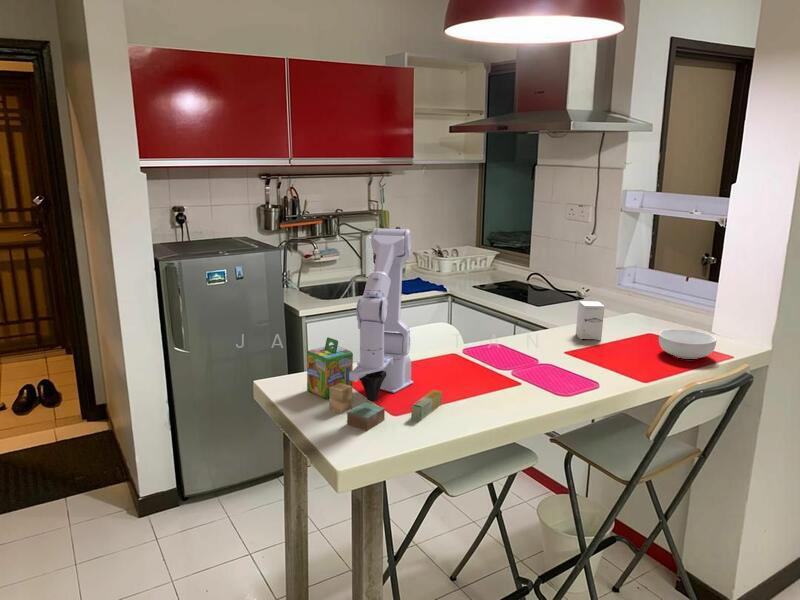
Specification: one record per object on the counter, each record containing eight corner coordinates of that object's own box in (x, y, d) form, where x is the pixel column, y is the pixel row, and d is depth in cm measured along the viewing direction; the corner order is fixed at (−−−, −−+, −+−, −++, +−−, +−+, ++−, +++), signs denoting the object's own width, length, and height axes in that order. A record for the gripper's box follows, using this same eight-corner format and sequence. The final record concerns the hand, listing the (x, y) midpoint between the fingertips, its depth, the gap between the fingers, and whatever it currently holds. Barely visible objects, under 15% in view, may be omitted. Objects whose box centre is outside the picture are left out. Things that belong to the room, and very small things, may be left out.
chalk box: (306, 391, 164) (304, 339, 160) (333, 382, 170) (332, 332, 167) (327, 400, 158) (326, 347, 154) (354, 391, 164) (353, 339, 160)
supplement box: (580, 340, 211) (583, 305, 208) (575, 334, 218) (578, 300, 215) (601, 340, 210) (605, 305, 207) (595, 334, 217) (599, 300, 214)
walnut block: (364, 402, 149) (347, 412, 143) (384, 407, 146) (367, 418, 140) (364, 415, 150) (347, 425, 144) (384, 421, 147) (367, 432, 141)
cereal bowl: (676, 345, 206) (679, 325, 205) (724, 359, 193) (727, 338, 191) (646, 353, 197) (648, 333, 196) (693, 368, 184) (696, 346, 182)
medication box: (420, 422, 146) (420, 407, 145) (410, 419, 147) (411, 404, 146) (441, 405, 156) (442, 390, 155) (432, 402, 157) (433, 388, 156)
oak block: (340, 404, 155) (340, 382, 154) (352, 408, 153) (352, 386, 152) (329, 409, 152) (329, 387, 151) (341, 413, 150) (341, 391, 149)
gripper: (377, 336, 151) (377, 387, 154) (338, 351, 139) (339, 406, 142) (400, 341, 147) (399, 393, 150) (362, 357, 135) (362, 413, 138)
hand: (372, 400), depth 146 cm, fingers closed
